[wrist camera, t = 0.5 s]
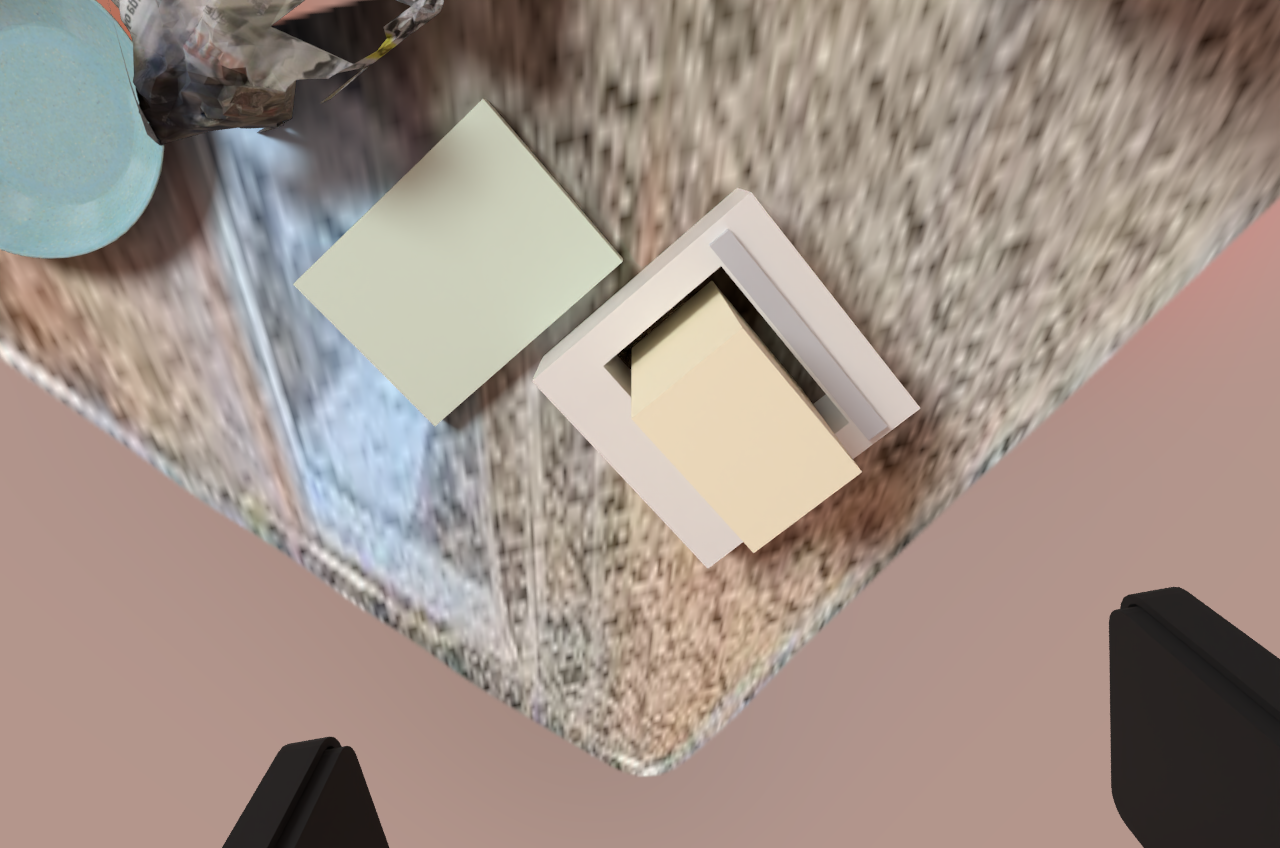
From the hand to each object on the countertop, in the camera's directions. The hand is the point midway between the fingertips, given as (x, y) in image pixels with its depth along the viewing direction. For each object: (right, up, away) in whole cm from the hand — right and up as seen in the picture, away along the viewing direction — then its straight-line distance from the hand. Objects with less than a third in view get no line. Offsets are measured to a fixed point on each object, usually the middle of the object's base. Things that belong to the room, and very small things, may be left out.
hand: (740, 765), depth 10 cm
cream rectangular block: (+3, +7, +29) cm, 30 cm away
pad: (-10, +11, +28) cm, 31 cm away
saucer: (-27, +18, +26) cm, 41 cm away
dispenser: (+3, +7, +29) cm, 30 cm away
